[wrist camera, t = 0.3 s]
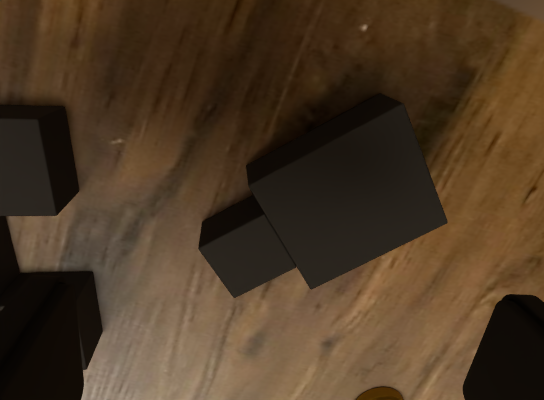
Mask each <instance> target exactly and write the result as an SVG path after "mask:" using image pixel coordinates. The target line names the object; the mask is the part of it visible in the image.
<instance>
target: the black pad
mask: <svg viewBox="0 0 544 400" xmlns="http://www.w3.org/2000/svg"><path fill="white" fill-rule="evenodd" d="M246 168H247V177H248V186H249V188H250V190H251V191H252V193H253V196H251V197H249V198H247V199H245V200H243V201H241V202H239V203H238V204H236V205H234V206H232V207H230V208H228V209H226V210H224V211H222V212H221V213H219V214H217V215H215V216H213V217H211V218H209V219H207V220H205V221H203V222H202V227H201V234H200V241H199V250H200V252H201V253H202V255H203V256H204V257H205V259H206V260H207V262H208V263H209V264H210V266H211V267H212V268H213V270H214V271H215V273H216V274H217V275H218V277H219V278H220V280H221V281H222V282H223V284H224V285H225V287H226V288H227V289H228V291H229V292H230V293H231V295H232V296H233V297H234V298H236V297H238V296H240V295H242V294H244V293H246V292H248V291H250V290H252V289H254V288H256V287H258V286H260V285H262V284H264V283H266V282H268V281H270V280H272V279H274V278H276V277H278V276H280V275H282V274H284V273H286V272H288V271H290V270H292V269H294V268H296V266H297V268H298V269H299V271H300V273H301V274H302V276H303V278H304V279H305V281H306V283H307V284H308V286H309V288H310V289H313V288H316V287H318V286H320V285H322V284H324V283H326V282H328V281H330V280H332V279H334V278H336V277H338V276H340V275H342V274H344V273H346V272H348V271H350V270H352V269H354V268H356V267H358V266H361V265H363V264H365V263H367V262H369V261H371V260H373V259H375V258H377V257H379V256H381V255H383V254H385V253H387V252H389V251H391V250H393V249H395V248H397V247H399V246H401V245H403V244H406V243H408V242H410V241H412V240H414V239H416V238H418V237H420V236H422V235H424V234H426V233H428V232H430V231H432V230H434V229H436V228H438V227H440V226H442V225H444V224H446V223H448V222H447V219H446V216H445V213H444V211H443V208H442V205H441V203H440V200H439V197H438V194H437V192H436V189H435V186H434V184H433V181H432V178H431V176H430V173H429V170H428V168H427V165H426V162H425V160H424V157H423V154H422V152H421V149H420V146H419V144H418V141H417V138H416V135H415V133H414V130H413V127H412V125H411V122H410V119H409V117H408V114H407V111H406V109H405V106H404V104H403V103H401V102H399V101H397V100H394V99H392V98H390V97H388V96H385V95H383V94H378V95H377V96H375V97H373V98H371V99H369V100H367V101H365V102H364V103H362V104H360V105H358V106H356V107H354V108H352V109H351V110H349V111H347V112H345V113H343V114H341V115H339V116H338V117H336V118H334V119H332V120H330V121H328V122H326V123H325V124H323V125H321V126H319V127H317V128H315V129H313V130H312V131H310V132H308V133H306V134H304V135H302V136H300V137H298V138H297V139H295V140H293V141H291V142H289V143H287V144H285V145H284V146H282V147H280V148H278V149H276V150H274V151H272V152H271V153H269V154H267V155H265V156H263V157H261V158H259V159H258V160H256V161H254V162H252V163H250V164H248V165H247V166H246Z"/></svg>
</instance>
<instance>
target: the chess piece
mask: <svg viewBox="0 0 544 400" xmlns="http://www.w3.org/2000/svg"><path fill="white" fill-rule="evenodd" d="M356 400H403V398H402V396H401V395H400V393H399V392H397V391H396V390H394V389H392V388H387V387H380V388H374V389H371V390H368V391H366V392H364V393H363V394H362V395H360V396H359V397H358V398H357V399H356Z"/></svg>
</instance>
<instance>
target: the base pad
mask: <svg viewBox="0 0 544 400" xmlns="http://www.w3.org/2000/svg"><path fill="white" fill-rule="evenodd" d="M78 192H79V188H78V182H77V176H76V170H75V164H74V158H73V152H72V146H71V140H70V134H69V128H68V122H67V116H66V110H65V107H64V106H31V105H0V312H1V310H2V309H3V308H4V307H5V305H6V304H7V303H8V302H9V301H10V299H11V298H12V297H13V296H14V294H15V293H16V292H17V291H18V289H19V288H20V287H21V286H22V285H23V283H24V282H25V281H26V280H27V279H28V278H29V277H30V276H32V275H42V276H62V277H64V278H65V280H66V284H73V285H74V287H75V293H76V304H77V315H78V325H79V336H80V347H81V357H82V368H83V370H86V369H87V368H88V365H89V363H90V360H91V358H92V356H93V353H94V351H95V349H96V346H97V344H98V341H99V339H100V337H101V334H102V326H101V320H100V314H99V308H98V302H97V296H96V290H95V284H94V278H93V272H53V273H20V274H19V270H18V266H17V262H16V258H15V254H14V250H13V246H12V242H11V238H10V234H9V230H8V226H7V222H6V219H5V216H56V215H58V214H59V212H60V211H61V210H62V209H63V208H64V207H65V206H66V205H67V204H68V203H69V202H70V201H71V200H72V199H73V197H74V196H75V195H76V194H77V193H78Z"/></svg>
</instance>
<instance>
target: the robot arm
mask: <svg viewBox="0 0 544 400" xmlns="http://www.w3.org/2000/svg"><path fill="white" fill-rule="evenodd" d="M83 387H84V378H83V368H82V357H81V347H80V336H79V325H78V315H77V304H76V293H75V287H74V285H73V284H66V280H65V278H64V277H62V276H42V275H32V276H30V277H29V278H28V279H27V280H26V281H25V282H24V283H23V285H22V286H21V287H20V288H19V289H18V291H17V292H16V293H15V294H14V296H13V297H12V298H11V299H10V301H9V302H8V303H7V304H6V305H5V307H4V308H3V309H2V310H1V312H0V400H81V397H82V394H83ZM463 395H464V398H465V400H544V302H543V301H542V300H540V299H539V298H538V297H536V296H533V295H516V294H509V295H506V296H505V297H503V299H502V300H501V301H499V302H498V303H497V304H496V306H495V308H494V311H493V313H492V316H491V318H490V321H489V323H488V325H487V328H486V330H485V333H484V335H483V338H482V340H481V342H480V345H479V347H478V350H477V352H476V355H475V357H474V359H473V362H472V364H471V367H470V369H469V372H468V374H467V376H466V379H465V381H464V384H463Z"/></svg>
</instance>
